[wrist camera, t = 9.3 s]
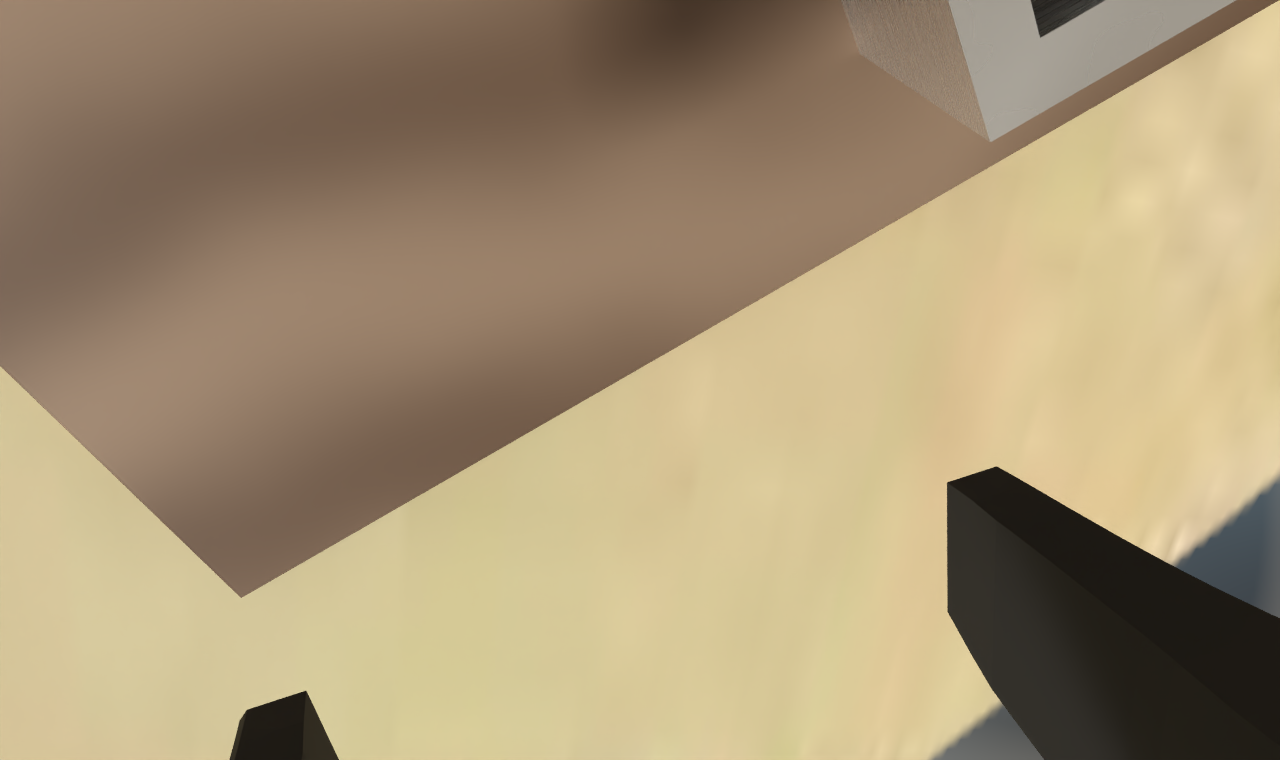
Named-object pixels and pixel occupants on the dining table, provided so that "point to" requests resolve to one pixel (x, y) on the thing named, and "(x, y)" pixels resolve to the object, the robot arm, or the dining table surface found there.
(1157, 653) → the robot arm
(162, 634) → the dining table surface
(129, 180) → the base board
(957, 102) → the grey slotted block
